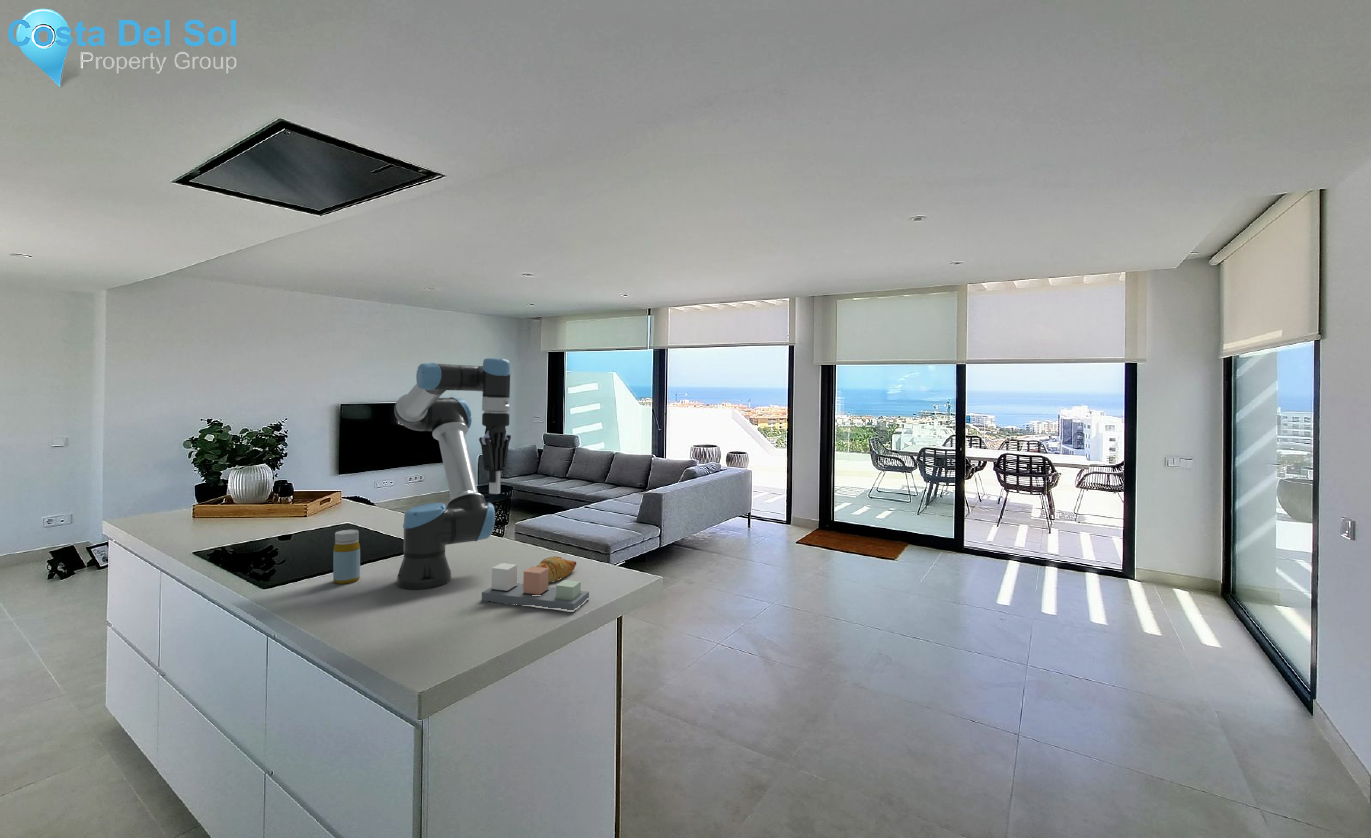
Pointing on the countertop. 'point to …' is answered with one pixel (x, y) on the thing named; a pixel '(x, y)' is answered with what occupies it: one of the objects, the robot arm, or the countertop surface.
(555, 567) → the croissant
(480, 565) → the countertop surface
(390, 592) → the countertop surface
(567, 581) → the key sage
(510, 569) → the key white
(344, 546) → the bottle
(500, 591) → the grey slotted tray
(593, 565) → the countertop surface
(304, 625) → the countertop surface
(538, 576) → the key terracotta
